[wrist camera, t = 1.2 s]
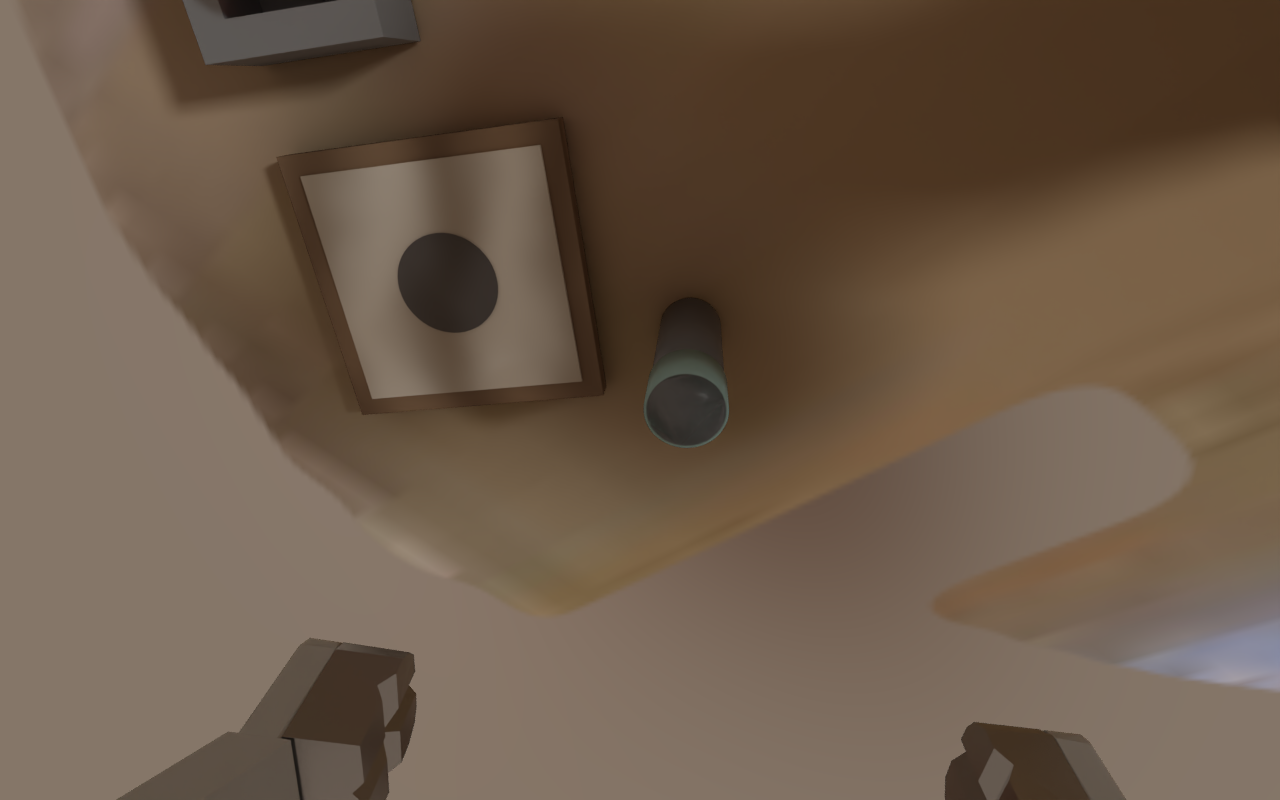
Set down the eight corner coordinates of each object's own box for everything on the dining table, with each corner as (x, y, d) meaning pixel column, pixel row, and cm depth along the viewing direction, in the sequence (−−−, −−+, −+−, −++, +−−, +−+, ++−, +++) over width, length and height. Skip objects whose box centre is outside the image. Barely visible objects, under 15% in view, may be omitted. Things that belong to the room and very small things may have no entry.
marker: (720, 292, 35) (725, 367, 26) (725, 353, 37) (731, 444, 28) (654, 299, 36) (638, 375, 27) (662, 359, 37) (649, 450, 28)
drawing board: (562, 117, 32) (556, 118, 31) (606, 386, 38) (602, 397, 37) (290, 154, 34) (273, 157, 33) (371, 405, 40) (360, 417, 38)
